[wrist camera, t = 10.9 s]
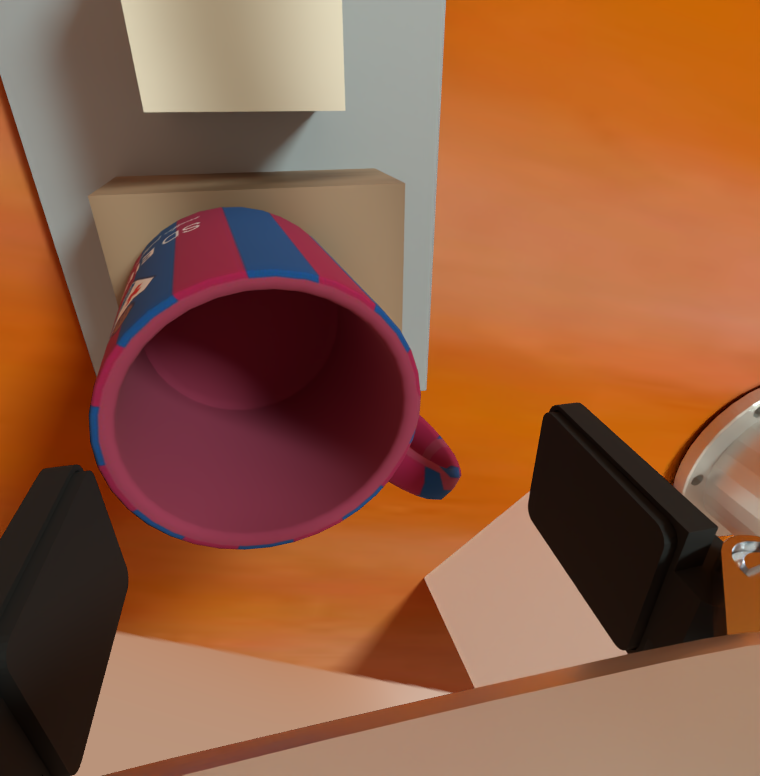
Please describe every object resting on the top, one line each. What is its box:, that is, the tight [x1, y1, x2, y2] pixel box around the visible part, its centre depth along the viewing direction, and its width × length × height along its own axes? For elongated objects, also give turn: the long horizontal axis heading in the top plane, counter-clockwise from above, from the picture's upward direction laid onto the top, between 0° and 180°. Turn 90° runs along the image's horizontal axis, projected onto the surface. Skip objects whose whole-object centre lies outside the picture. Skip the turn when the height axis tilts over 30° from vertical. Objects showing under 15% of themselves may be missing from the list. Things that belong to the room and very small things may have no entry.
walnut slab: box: [88, 168, 405, 333], centre depth 19 cm, size 9×9×4 cm
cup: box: [89, 207, 461, 549], centre depth 14 cm, size 7×10×7 cm
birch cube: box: [121, 0, 345, 112], centre depth 14 cm, size 5×5×5 cm
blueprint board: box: [0, 0, 446, 391], centre depth 19 cm, size 14×18×1 cm
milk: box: [424, 491, 628, 688], centre depth 24 cm, size 12×12×26 cm
